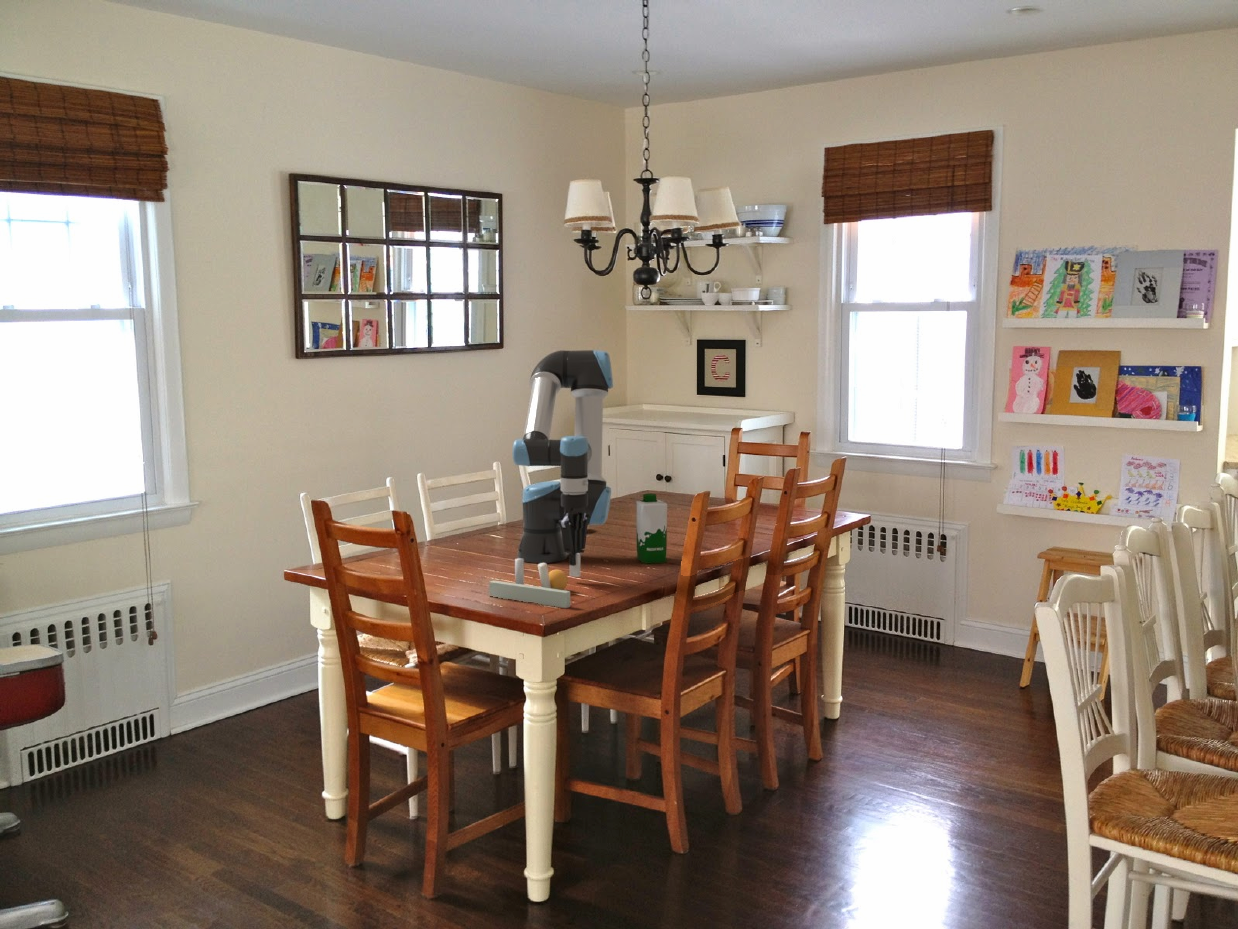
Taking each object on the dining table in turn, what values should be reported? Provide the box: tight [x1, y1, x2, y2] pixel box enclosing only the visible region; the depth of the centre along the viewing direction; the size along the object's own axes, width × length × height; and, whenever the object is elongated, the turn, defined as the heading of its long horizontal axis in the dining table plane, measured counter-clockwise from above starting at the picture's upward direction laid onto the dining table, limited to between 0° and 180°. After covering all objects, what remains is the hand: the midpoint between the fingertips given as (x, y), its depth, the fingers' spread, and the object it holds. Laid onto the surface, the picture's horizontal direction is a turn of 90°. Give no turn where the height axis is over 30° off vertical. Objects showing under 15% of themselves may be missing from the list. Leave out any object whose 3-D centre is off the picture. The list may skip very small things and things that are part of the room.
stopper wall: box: [488, 580, 571, 609], centre depth 286 cm, size 24×2×4 cm, turn 61°
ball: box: [548, 568, 569, 590], centre depth 296 cm, size 6×6×6 cm
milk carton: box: [635, 493, 668, 564], centre depth 332 cm, size 9×9×20 cm
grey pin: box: [514, 557, 525, 585], centre depth 298 cm, size 2×2×8 cm
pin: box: [537, 563, 551, 588], centre depth 292 cm, size 2×2×8 cm
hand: (574, 576), depth 306 cm, fingers closed
